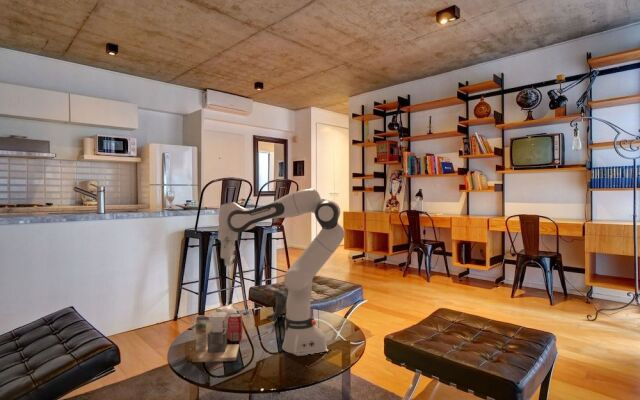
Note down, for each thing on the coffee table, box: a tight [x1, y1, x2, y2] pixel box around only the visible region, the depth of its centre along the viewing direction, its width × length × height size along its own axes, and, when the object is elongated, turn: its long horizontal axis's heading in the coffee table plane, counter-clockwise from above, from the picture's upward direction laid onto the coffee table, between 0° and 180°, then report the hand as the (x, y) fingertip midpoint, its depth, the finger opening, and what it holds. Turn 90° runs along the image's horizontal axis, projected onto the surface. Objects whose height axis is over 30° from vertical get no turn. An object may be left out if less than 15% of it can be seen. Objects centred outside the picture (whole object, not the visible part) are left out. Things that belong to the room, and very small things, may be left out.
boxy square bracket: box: [196, 311, 227, 334], centre depth 162 cm, size 12×7×10 cm, turn 97°
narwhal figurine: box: [266, 286, 289, 321], centre depth 212 cm, size 14×15×18 cm
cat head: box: [209, 303, 238, 331], centre depth 192 cm, size 15×13×12 cm
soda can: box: [227, 312, 244, 342], centre depth 178 cm, size 7×7×12 cm
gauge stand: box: [191, 314, 240, 363], centre depth 161 cm, size 18×14×17 cm
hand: (227, 265), depth 174 cm, fingers closed
